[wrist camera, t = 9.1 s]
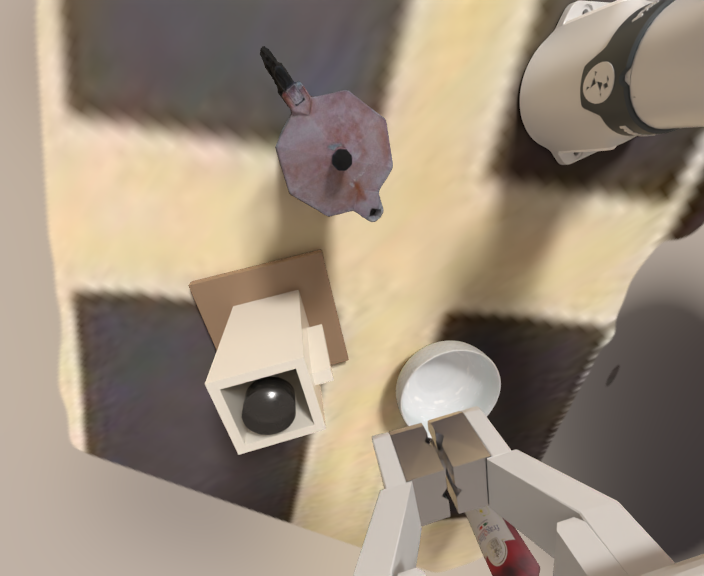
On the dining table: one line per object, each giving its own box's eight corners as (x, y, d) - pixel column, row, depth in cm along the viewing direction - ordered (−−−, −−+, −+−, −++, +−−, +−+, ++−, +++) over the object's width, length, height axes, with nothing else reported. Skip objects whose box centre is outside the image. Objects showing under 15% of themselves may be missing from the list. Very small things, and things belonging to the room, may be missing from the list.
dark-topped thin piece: (291, 304, 46) (293, 378, 31) (303, 342, 49) (310, 429, 33) (245, 315, 46) (223, 398, 30) (260, 354, 48) (246, 447, 33)
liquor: (462, 452, 67) (569, 636, 42) (484, 465, 70) (597, 646, 44) (437, 476, 68) (526, 669, 43) (460, 488, 71) (556, 676, 46)
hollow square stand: (320, 249, 47) (339, 303, 30) (347, 354, 54) (374, 446, 37) (191, 281, 45) (133, 357, 28) (236, 385, 52) (211, 495, 35)
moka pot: (324, 219, 45) (348, 263, 27) (237, 120, 39) (193, 92, 21) (378, 171, 44) (441, 183, 26) (297, 62, 38) (305, -23, 20)
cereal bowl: (492, 376, 61) (516, 402, 55) (415, 424, 62) (430, 455, 56) (455, 309, 54) (477, 330, 48) (369, 364, 55) (380, 392, 49)
